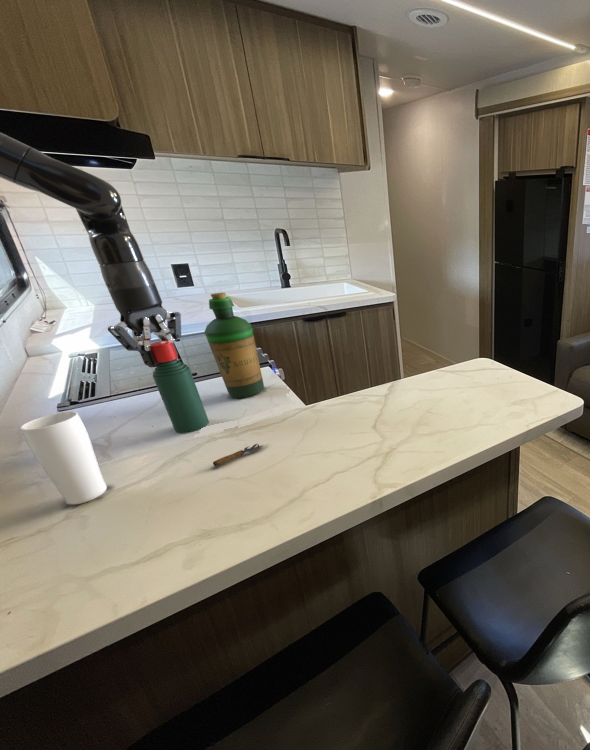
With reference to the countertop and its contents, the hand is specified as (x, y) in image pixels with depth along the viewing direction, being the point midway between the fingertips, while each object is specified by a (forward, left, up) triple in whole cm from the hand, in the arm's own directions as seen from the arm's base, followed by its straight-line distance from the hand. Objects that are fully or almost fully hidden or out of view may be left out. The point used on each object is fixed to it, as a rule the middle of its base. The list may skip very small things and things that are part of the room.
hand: (163, 362), depth 89 cm
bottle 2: (+13, +16, -16) cm, 26 cm away
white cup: (-13, -22, -16) cm, 31 cm away
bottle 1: (+1, 0, -16) cm, 16 cm away
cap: (+1, -1, +1) cm, 1 cm away
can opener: (+10, -24, -16) cm, 31 cm away
